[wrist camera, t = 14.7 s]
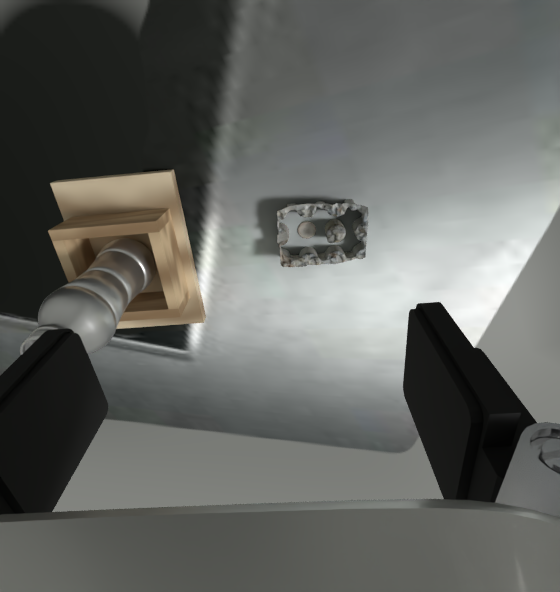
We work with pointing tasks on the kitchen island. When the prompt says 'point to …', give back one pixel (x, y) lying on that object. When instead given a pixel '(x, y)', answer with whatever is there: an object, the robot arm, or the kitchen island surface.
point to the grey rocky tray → (333, 234)
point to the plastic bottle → (98, 295)
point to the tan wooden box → (138, 226)
